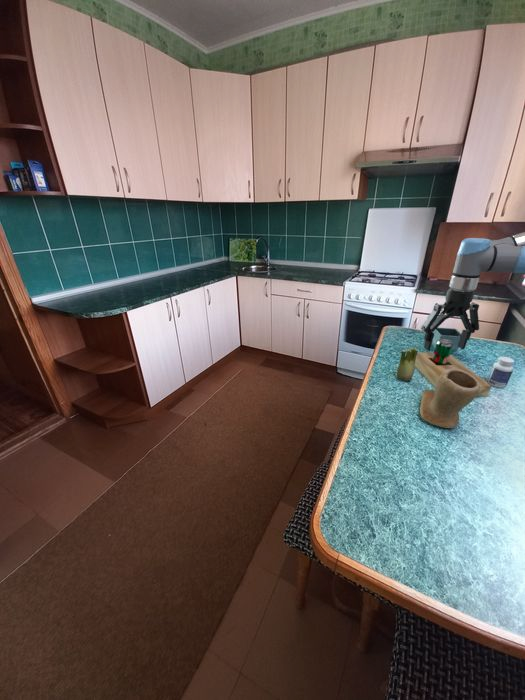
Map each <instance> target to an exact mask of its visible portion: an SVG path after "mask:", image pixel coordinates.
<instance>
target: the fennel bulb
mask: <svg viewBox="0 0 525 700" xmlns="http://www.w3.org/2000/svg"><path fill="white" fill-rule="evenodd" d="M417 353H419V349H417V348H412V347H410V348H409V349H407V351H406V350H405V349H402V350H401V353H400V359H399V362H398V366H397V369H396V378H397V379H398V380H400V381H403V382H410V381H412V380H413V377H414V374H415V369H416V367H415V359H416V356H417Z"/></svg>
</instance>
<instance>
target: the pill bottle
mask: <svg viewBox="0 0 525 700" xmlns="http://www.w3.org/2000/svg"><path fill="white" fill-rule="evenodd" d="M514 363H515V360H514V359H513V358H511V357H508V356H499V357H498V359H497V361H496V362H494V363H493V365H492V368H491V370H490V373H489V375H488V378H487V381H486V382H487V383H488V384H489V385H491V387H495V388H498V389H505V388H507V386H508V384H509V381H510V379H511V376H512V375H513V372H514V369H515V368H514V366H513V365H514Z"/></svg>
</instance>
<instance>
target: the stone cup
mask: <svg viewBox="0 0 525 700" xmlns="http://www.w3.org/2000/svg"><path fill="white" fill-rule="evenodd" d="M479 390H480V384H479V382H478V381H477V379H476V378H475V377H473V376H472V375H471V374H469V373H467V372H465V371H463V370H460V369H447V370H445V371H443V372H442V374H441V375H440V377H439V379H438V381H437V383H436V386H435V387H434V389H425V390H423V392H422V395H421V400H420V407H419V413H420V418H421V419H422V420H424V421H425V422H427V423H428V424H431V425H433V426H436V427H438V428H444V429H455V428H456V427H457V426H458V424H459V420H460V412H461V411H462V410H463V409H464V408H465V407H467V406H468V405H469V404H470V403H472V402H473V401H474V400H475V399H476V398H477V397H476V395H477V394H478V392H479Z"/></svg>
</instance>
